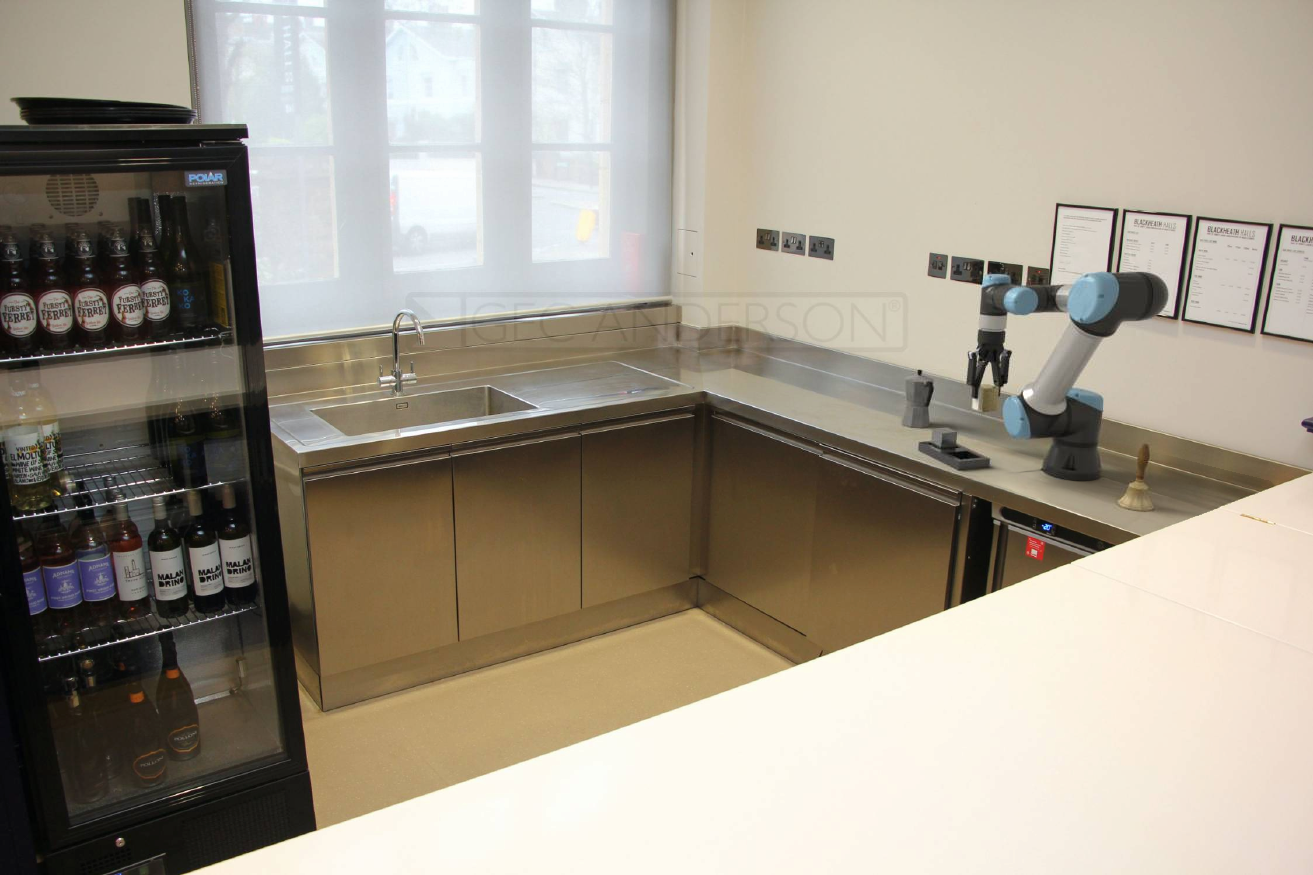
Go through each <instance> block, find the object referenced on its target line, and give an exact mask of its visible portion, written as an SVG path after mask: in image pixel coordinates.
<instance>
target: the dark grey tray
mask: <svg viewBox="0 0 1313 875" xmlns="http://www.w3.org/2000/svg"><path fill="white" fill-rule="evenodd" d="M917 446H918V448H917V451H918V452H920V453H922V454H924V455H926V456H929V457H930V458H933V459H934V460H936V461H938V462H940V463H942V464H944V465H946V466H948V467H950V468H952V469H954V470H956V471H966V470H968V471H969V470H977V469H987V468H988V469H989V468H990V463H991V458H989V457H988V456H985V455H983V454H981V453H979V452H976V451H975V450H973V449H970V448H968V447H966V446H964V445H961V444H959V443H957V442H956V448H953V449H942V450H939V449H937V448H935V447H933V446H931V440H927V441H918V445H917Z"/></svg>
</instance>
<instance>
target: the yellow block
mask: <svg viewBox="0 0 1313 875" xmlns="http://www.w3.org/2000/svg"><path fill="white" fill-rule="evenodd" d="M993 385H994V384H989V383H983V384H982V383H981V385H980V388H982V395H981V406H980V410H975V409H973V410H975V411H977V412H979V413H990V412H991V413H992V412H997V410H998V403H997V401H998V402H999V397H998V392H999V388H998V387H996V386H993ZM971 399H972V400H971V408H972V407H973V398H972V397H971Z"/></svg>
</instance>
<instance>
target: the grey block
mask: <svg viewBox="0 0 1313 875" xmlns="http://www.w3.org/2000/svg"><path fill="white" fill-rule="evenodd" d="M957 440H958V431H956V430H955V429H951V428H950V427H936V428H935V427H934V428H932V429H931V440H930V441H931V446H933V447H935V448H937V449H939V450H942V449H953V448H956V443H957Z"/></svg>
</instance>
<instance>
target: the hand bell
mask: <svg viewBox="0 0 1313 875" xmlns="http://www.w3.org/2000/svg"><path fill="white" fill-rule="evenodd" d="M1150 453H1151V452H1150V446H1149V444H1147V443H1144V444H1142V446H1141V448H1140V450H1139V451H1138V454H1137V466H1138V467H1137V473H1136V478H1135V481H1133V482H1130V483H1128V487H1127V489H1126V492H1125V494H1123V496H1122V497H1121V498H1119V499H1118V501H1117V503H1116V504H1118V506H1119V507H1122V508H1124V509H1127V510H1131V511H1137V512H1149V511H1150V512H1151V511H1153V510H1154V504H1153V503H1152V502H1151V500H1150V497H1149V486H1148V485H1147V484H1146V483H1144V480H1145V473H1146V468H1147V466H1148V464H1149V460H1150V458H1151V456H1150V455H1151V454H1150Z"/></svg>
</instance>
